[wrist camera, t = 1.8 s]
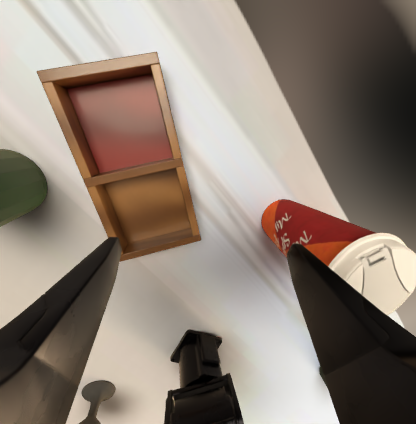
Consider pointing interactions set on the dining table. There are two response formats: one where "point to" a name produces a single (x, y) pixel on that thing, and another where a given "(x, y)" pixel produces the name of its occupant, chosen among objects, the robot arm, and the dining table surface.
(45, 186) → the bottle
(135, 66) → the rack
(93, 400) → the sundae
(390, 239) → the paper cup
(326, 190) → the dining table surface
